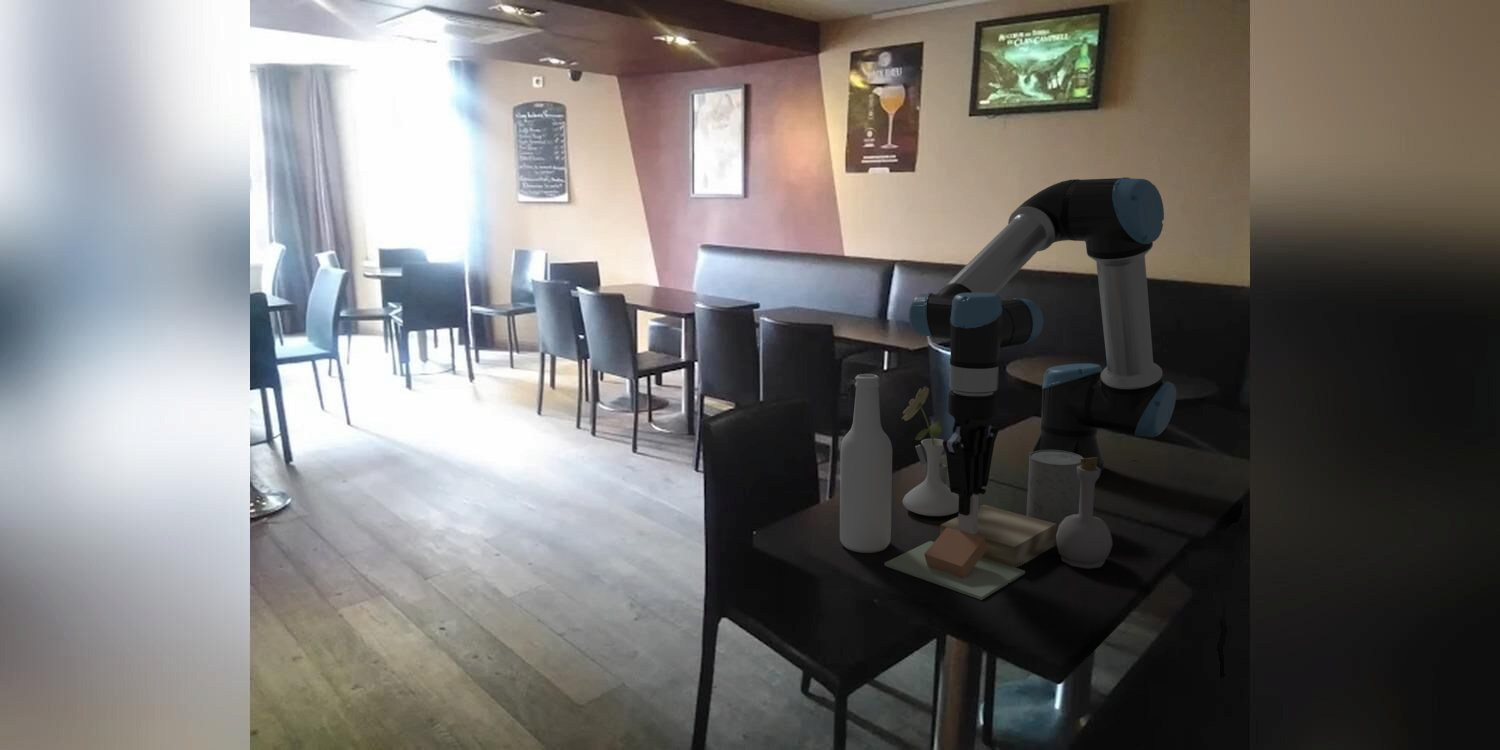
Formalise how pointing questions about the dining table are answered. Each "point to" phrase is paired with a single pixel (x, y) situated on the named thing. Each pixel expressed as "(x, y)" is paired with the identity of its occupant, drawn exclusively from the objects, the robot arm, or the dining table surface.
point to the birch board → (1010, 535)
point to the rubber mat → (976, 584)
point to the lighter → (923, 460)
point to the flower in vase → (929, 470)
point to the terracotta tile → (955, 552)
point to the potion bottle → (1084, 525)
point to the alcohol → (866, 474)
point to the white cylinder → (1053, 485)
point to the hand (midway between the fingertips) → (967, 531)
